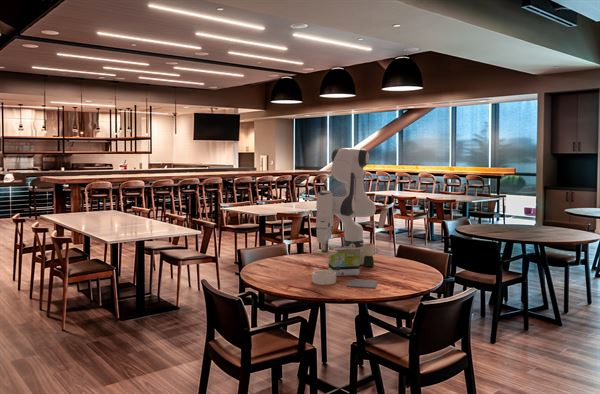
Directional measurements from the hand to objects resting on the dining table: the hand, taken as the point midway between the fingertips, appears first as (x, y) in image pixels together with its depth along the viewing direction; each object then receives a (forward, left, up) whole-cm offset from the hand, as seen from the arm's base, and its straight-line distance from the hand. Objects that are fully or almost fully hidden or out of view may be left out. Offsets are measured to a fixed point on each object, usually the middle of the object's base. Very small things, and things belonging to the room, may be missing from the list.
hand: (324, 249), depth 263 cm
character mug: (-43, +18, -17) cm, 50 cm away
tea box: (-20, +7, -17) cm, 27 cm away
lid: (0, 0, -2) cm, 2 cm away
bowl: (0, 0, -17) cm, 17 cm away
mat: (0, +20, -17) cm, 26 cm away
